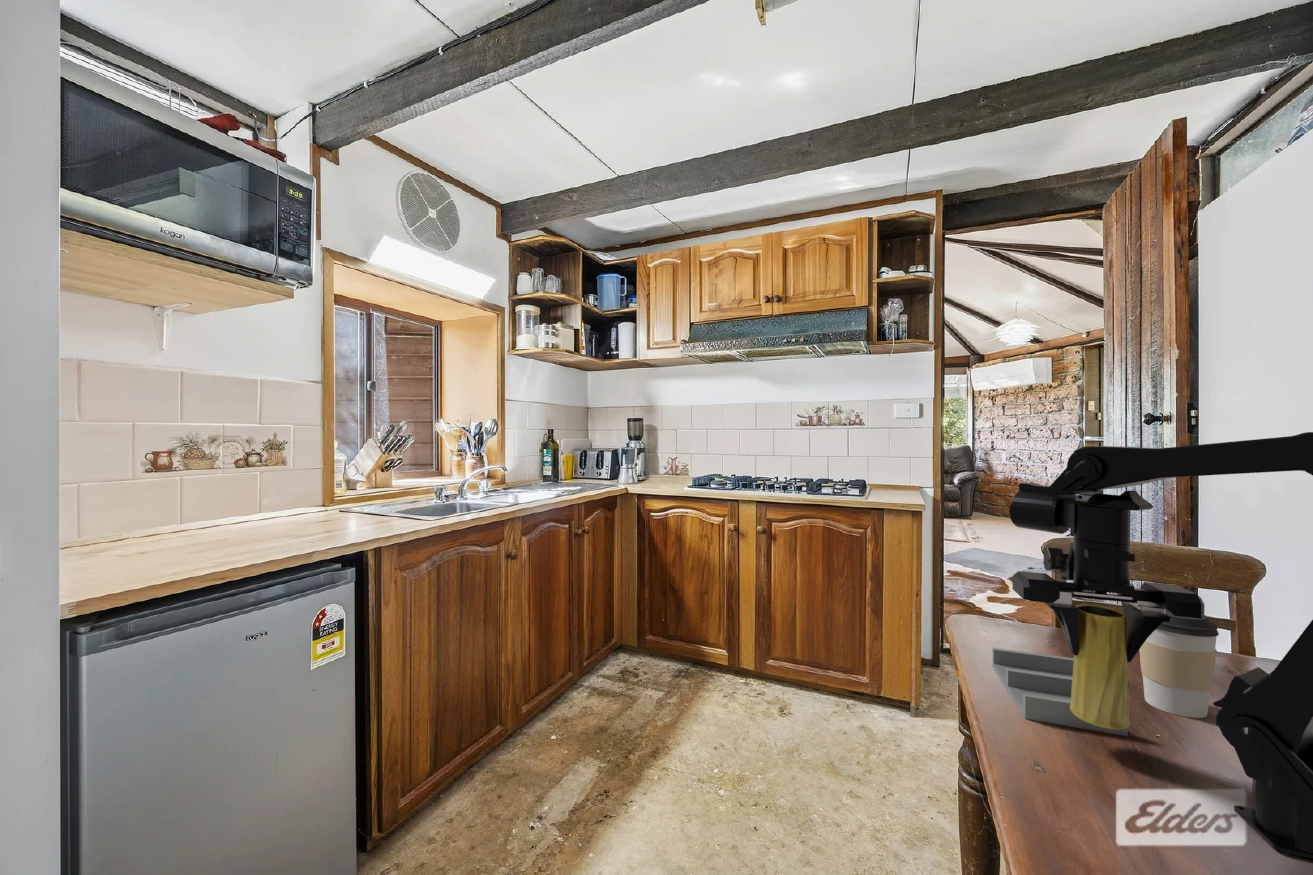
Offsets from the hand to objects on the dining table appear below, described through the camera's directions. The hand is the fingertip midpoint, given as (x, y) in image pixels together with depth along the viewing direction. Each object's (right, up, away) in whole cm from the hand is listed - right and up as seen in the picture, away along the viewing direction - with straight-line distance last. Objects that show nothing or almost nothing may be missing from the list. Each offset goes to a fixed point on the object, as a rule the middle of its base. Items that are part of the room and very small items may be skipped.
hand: (1099, 657), depth 69 cm
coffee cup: (+21, -13, +11) cm, 27 cm away
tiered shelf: (+4, -12, +14) cm, 19 cm away
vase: (0, -8, 0) cm, 8 cm away
